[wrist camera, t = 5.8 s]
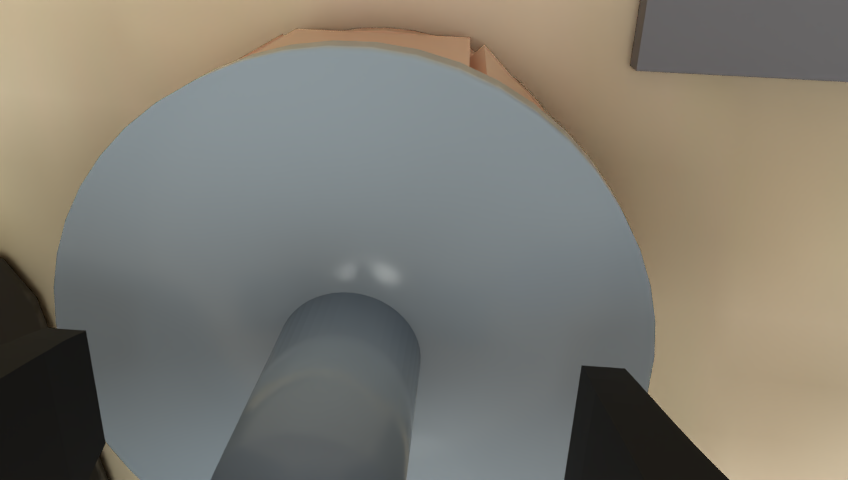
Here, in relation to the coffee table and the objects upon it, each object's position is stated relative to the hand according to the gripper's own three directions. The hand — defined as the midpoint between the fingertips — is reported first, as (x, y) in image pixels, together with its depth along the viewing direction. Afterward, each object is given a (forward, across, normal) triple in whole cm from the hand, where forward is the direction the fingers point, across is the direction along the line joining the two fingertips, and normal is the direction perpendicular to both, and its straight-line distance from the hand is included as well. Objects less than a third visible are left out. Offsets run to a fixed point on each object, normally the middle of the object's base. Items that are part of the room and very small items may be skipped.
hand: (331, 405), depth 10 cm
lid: (+3, 0, 0) cm, 3 cm away
